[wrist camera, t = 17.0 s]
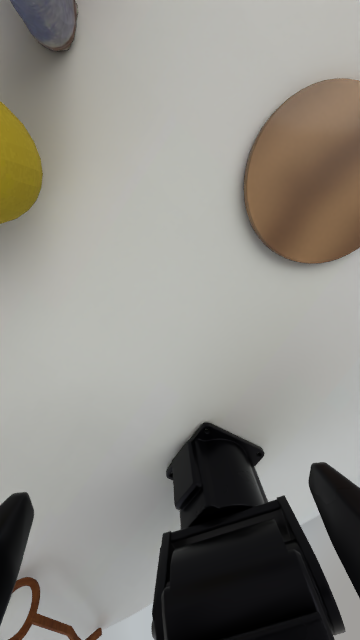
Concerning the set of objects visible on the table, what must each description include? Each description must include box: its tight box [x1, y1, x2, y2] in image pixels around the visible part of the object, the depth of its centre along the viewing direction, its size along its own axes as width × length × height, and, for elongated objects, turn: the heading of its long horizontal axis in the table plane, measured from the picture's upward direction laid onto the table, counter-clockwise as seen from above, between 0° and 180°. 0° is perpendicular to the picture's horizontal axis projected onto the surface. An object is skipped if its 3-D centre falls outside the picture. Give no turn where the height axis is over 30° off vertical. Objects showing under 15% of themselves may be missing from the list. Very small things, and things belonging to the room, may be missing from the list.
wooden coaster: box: [244, 79, 360, 264], centre depth 17 cm, size 10×10×1 cm
